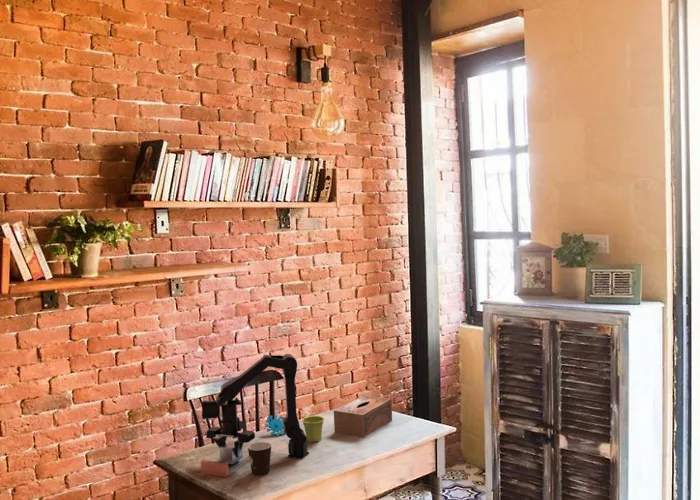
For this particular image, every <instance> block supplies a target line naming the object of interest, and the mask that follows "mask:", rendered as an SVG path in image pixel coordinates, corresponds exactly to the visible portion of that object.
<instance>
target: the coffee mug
mask: <svg viewBox="0 0 700 500" xmlns="http://www.w3.org/2000/svg"><path fill="white" fill-rule="evenodd" d="M247 452H248V456H249V459H250V461H249V463H250V470H251V475H252V476H254V477H263V476H267V475H268V474H270V470H271V468H270V467H271V455H272V454H271V453H272V444H271V443H270V442H265V441H257V442H253V443H249V445H247Z"/></svg>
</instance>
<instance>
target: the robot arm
mask: <svg viewBox="0 0 700 500" xmlns="http://www.w3.org/2000/svg"><path fill="white" fill-rule="evenodd" d="M267 368H275V369H279V370H282V373H283V377H284V389H285V390H284V391H285V392H284V393H285V394H284V395H285V412H286V414H285V417H284V416H282V419H281V420H283V422H282V423H283V426H282V428H283V429H282V431H283V432H284V433H285V434H286V437H287V438H288V439H289V440H288V443H287V447H288V448H287V449H288V455H287V457H288V458H293V459H295V458H296V459H299V460H301V459H304V458H305V457H307V455H309V454H310V452H309V451H308V440H307V439H306V438H307V437H306V433H305V430H304V429H302V428H301V426H300V421H299V418H298V414H297V402H296V401H297V399H296V398H297V397H296V396H297V395H296V380H295V379H296V376H297V369H298V362H297V359H296V358H295V356H294V355H293V354H290V353H286V354H285V353H284V354H283V355H279V354H278V355H277V354H274V355H272V354H271V355H270V354H263V356H262V357H261V358H260V359H259V360H257V361H256V362H255V363H253V365H251V366H250V367H248V369H245V371H243V372H242V373H240V375H238V376H236V377H234V378H232V379H230V380H228V381H226V382H224V383H223V384H222V385H221V386H220V392H219V394H218V395H217V396H216V397H215V399H214V400H201V406H202V407H201V419H202V420H209V419H210V420H211V419H217V418H218V417H219V416H220V415H221V419H220V420H219V423H220V424H221V426H222V427H219V426H213V427H211V428H209V429H207V431H206V433H205V437H206V439H211V440H212V441H213V442H214V443H215V444H216V446H217V447H218V448H219V449H220V447H221V446H222V445H224V444H226V443H227V437H228V438H236V440H235V441H234V445H235V452H236V457H237V458H238V457H239V455H240V452H241V449H242V450H243V446H244V443H250V442H251V441H253V440H255V438H256V434H255V432H254V430H247V429H246V427H247V421H245V420H241V419H240V417H239V416H238V407H237V406H241V405H242V400H241V399H239V398H238V397H237V396H238V395H239V394H240V393H241V391H242V389H243V388H244V387H245V386H246V385H247V384H248V383H250V382H251V381H252V380H253V379H255V378H257V377H258V375H260V374H261V373H263V372H264V371H265V370H266V369H267ZM220 407H221V408H220ZM220 409H221V410H220ZM240 431H242V432H240Z"/></svg>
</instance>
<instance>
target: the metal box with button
mask: <svg viewBox="0 0 700 500" xmlns="http://www.w3.org/2000/svg"><path fill="white" fill-rule="evenodd" d="M234 442H235V441H233V440H229V441H226V444H224V445H222V446H221V447H220V448H219V459H220V462H222V463H228V465H229V464H230V465H233V464H234V465H235V463H237V462H239V461H241V460H242V459H244V458H243V448H242V449H241V452H240V455H239V457H238V458H237V457H236V452H235V445H234Z"/></svg>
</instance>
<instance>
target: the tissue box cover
mask: <svg viewBox="0 0 700 500" xmlns="http://www.w3.org/2000/svg"><path fill="white" fill-rule="evenodd" d="M392 401H393V400H392V398H387V397H378V396H370V395H365V394H364V395H362V396H359V397H357V398H356V399H354V400H352V401H350V402H348V403H346V404H344V405H342V406H340V407H338V408H336V409H334V410H333V425H334V433H335V434H338V433H339V435H344V436H350V437H357V438H363V439H364V438H366V437H367V436H369V435H371V434H372V433H374V432H376V431H377V430H378V429H380V428H382V427H384V426H385V425H386V424H388V423H390V422H391V421H393V406H392V405H393V404H392V403H393V402H392Z"/></svg>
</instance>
